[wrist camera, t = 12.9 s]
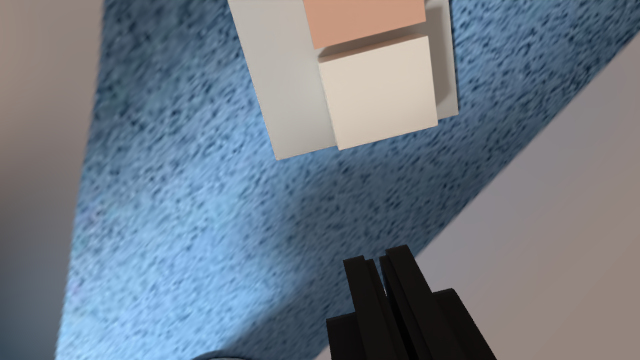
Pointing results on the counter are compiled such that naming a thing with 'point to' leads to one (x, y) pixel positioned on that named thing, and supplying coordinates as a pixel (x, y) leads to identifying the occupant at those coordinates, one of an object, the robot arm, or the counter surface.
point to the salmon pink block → (358, 18)
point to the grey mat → (303, 73)
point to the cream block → (379, 90)
